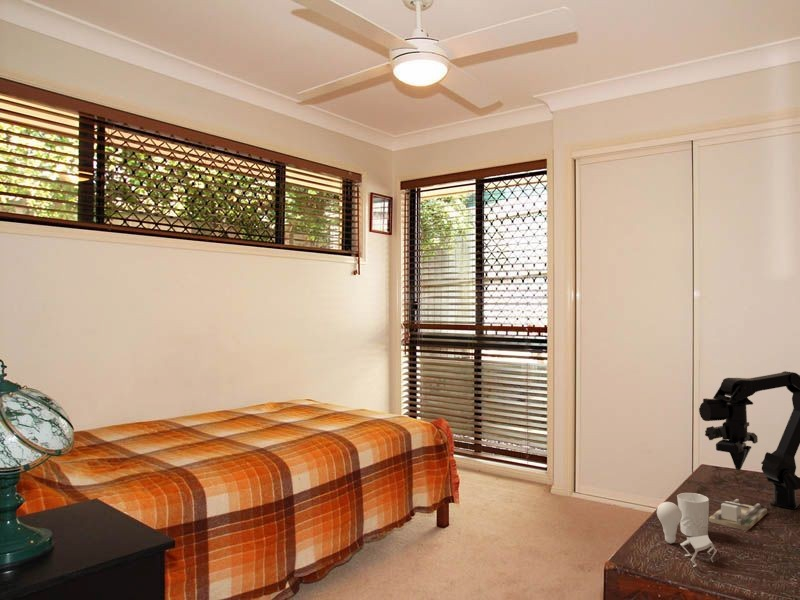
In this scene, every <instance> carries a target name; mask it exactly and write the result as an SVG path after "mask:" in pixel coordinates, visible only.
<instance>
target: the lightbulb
mask: <svg viewBox="0 0 800 600" xmlns="http://www.w3.org/2000/svg"><path fill="white" fill-rule="evenodd" d="M656 515H657V518H658V519H659V521H660V523H661V525H662V530H663V533H664V538H665V539H664V540H665V542H667V543H668V544H675V542H676V537H677V536H676V535H677V528H678V526H679V525H680V521H681V518H682V513H681V510H680V509H679V507H678V504H675V503H674V502H671V501H663V502H661V503H660V504H659V505H658V507H657V508H656Z"/></svg>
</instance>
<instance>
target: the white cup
mask: <svg viewBox="0 0 800 600" xmlns="http://www.w3.org/2000/svg"><path fill="white" fill-rule="evenodd" d="M676 497H677V498H676V499H677V500H676V501H677V506H678V507H679V509H680V510H681V513H682V518H681V521H680V523H679V526H680V528H679V529H680V532H681V533H682V534H683V535H685V536H686V537H689V538H690V537H698V536H704V535H708V536H709V517H710V515H709V509H710V508H709V506H710V505H709V504H710V503H709V501H710V499H709V498H708V496H706V495H703V494H701V493H694V492H683V493H679V494H677V495H676Z"/></svg>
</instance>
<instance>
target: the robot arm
mask: <svg viewBox="0 0 800 600" xmlns="http://www.w3.org/2000/svg"><path fill="white" fill-rule="evenodd" d="M783 387H786V389H787V390H788V391H789V392H790V393H792V397H791V401H792V412H791V414H790V415H789V416H790V417H789V419H788V421H787V424H786V426H785V429H784V431H783V433H782V435H781V439H780V440H779V442H778V445H777V447H776V449H775V450H774V451H773V452H772V453H771V452H768V451H766V453H765V455H764V458H763V460H762V461H761V463H760V464H762V465H761V471H762V473H763V475H764V476H765V478H766V480H767V482H769V483H771V484H773V500H772V501H771V502H770V505H771V506H776V507H780V508H785V509H790V510H796V509H797V508H798V507H799V506H800V502H798V501H797V491H798V490H800V478H799V477H798V475H796V470H797V464H796V460H795V459H796V458H795V456H796V454H797V452H798V450H799V447H800V374H799V373H797V372H793V371H786V370H785V371H782V372H778V373H773V374H767V375H766V374H765V375H761V376H757V377H756V376H755V377H748V378H746V377H745V378H744V377H725V378H723V379H722V381H721V384H720V386H719V387H718V389H717V391H716V393H715V394H714V396H713V398H702V403H700V407H698V412H699V416H700V418H701V419H702V420H703V421H705V422H713V421H724V422H723V423H722V425H719V426H714V425H712V426H708V427H706V428H705V429H706V430H705V432H704V436H705V437H707V438H708V440H709V441H713V440H717V439H720V438H722V439H721V440H719V441H718V442H716V443H715V450H716V451H718V452H722V453H723V452H724V453H729V454H730V455H729V456H730V457H731V460H732V463H733V465H734V468H735V470H737V471H740V470H741V469H742V468H743V465H744V463H745V461H746V458H747V457H748V455H749V453H750V450H751V449H752V446H750V445H747V443H746V442H752V444H757V443H758V442H759V441H758V435H757V434H755V433H754V432H751V431H748V427H749V426H750V422H749V421H748V415H747V406H748V405H749V406H750V405H751V406H752V405H754V402H753V401H751V400H750V399H749V397H751V396H753V395H754V394H755V393H758V392H760V391H766V390H773V389H778V388H783Z"/></svg>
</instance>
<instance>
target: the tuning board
mask: <svg viewBox="0 0 800 600" xmlns="http://www.w3.org/2000/svg"><path fill="white" fill-rule="evenodd" d="M729 502H733V503H738V504H741V505H743V506H747V507H749V508H744V507H741V517H740V518H739V519H738V520H737V522H735V521H731V520H727V519H723V518H721V508H719V509H718V510H717V511H715V512H714V513H713V514H711V515H709V519H708V523H712V524H718V525H721V526H725V527H729V528H734V529H738V530H742V531H746V532H747V531H749V530H750V529H751V528H752V527H753V526H754V525H755V524H757V523H758V522H759V521H761V519H762V518H763V517H765V516H766V515H767V514H768V509H767V508H766V507H765V508H764V507H761V503H755V504H754V505H751V504H744V503H740V499H739V498H735V499H734V500H733V501H729Z"/></svg>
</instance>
